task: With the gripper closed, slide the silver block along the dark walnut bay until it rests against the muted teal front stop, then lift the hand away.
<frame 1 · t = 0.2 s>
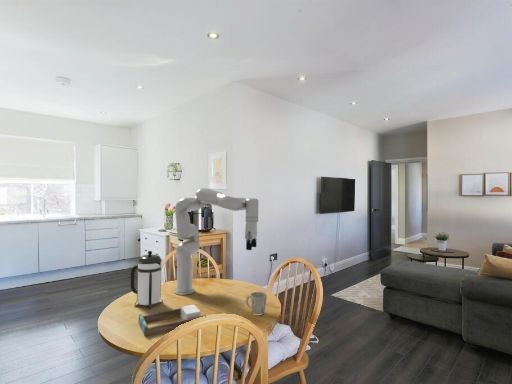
hand: (251, 248, 168), 31 cm above the table, tool pointing down, fingers open, 9 cm apart
mug: (255, 313, 151), on the table
bay: (172, 322, 138), on the table
coffee press: (146, 304, 160), on the table
silver block: (190, 319, 143), on the table
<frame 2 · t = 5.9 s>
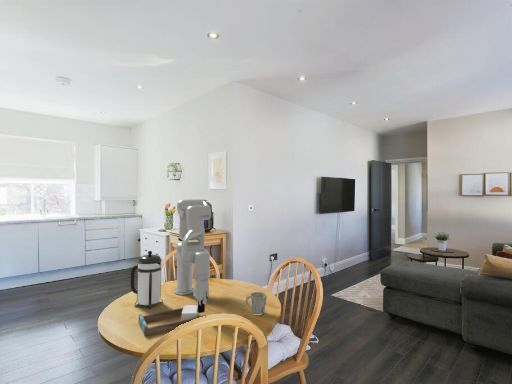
hand: (201, 312, 146), 2 cm above the table, tool pointing down, fingers closed
silver block: (189, 319, 143), on the table, touching gripper
everything else where it was.
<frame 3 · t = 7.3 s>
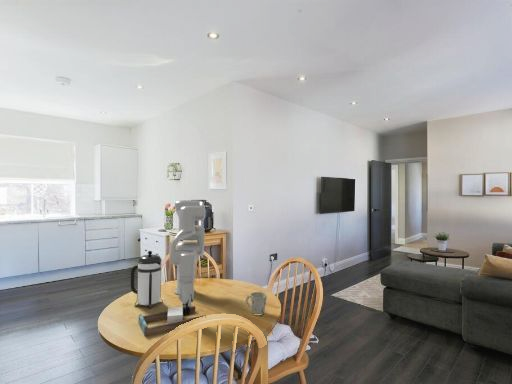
hand: (186, 315, 142), 2 cm above the table, tool pointing down, fingers closed
silver block: (175, 321, 140), on the table, touching bay, gripper
everything else where it was.
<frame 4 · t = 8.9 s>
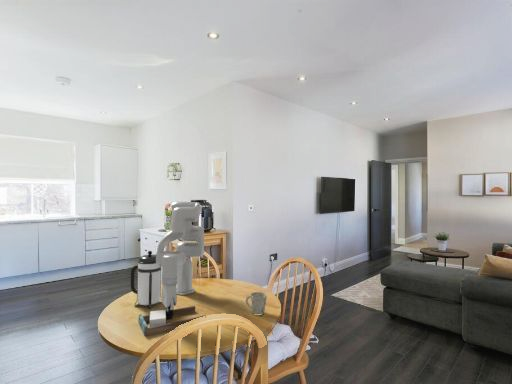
hand: (169, 318, 137), 2 cm above the table, tool pointing down, fingers closed
silver block: (157, 325, 135), on the table
everything else where it was.
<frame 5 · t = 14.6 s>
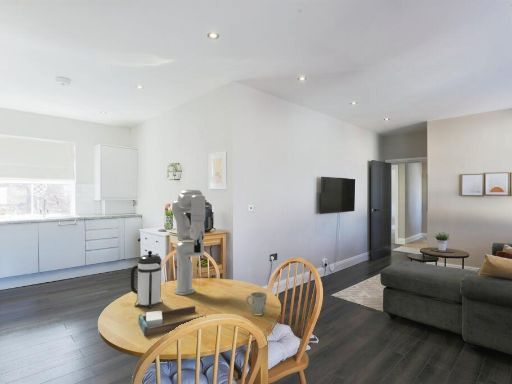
hand: (197, 252, 153), 31 cm above the table, tool pointing down, fingers closed
silver block: (153, 326, 135), on the table
everything else where it was.
at the end: silver block inside the target area (0.9 cm from its centre), on the table; silver block tilted 0° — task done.
